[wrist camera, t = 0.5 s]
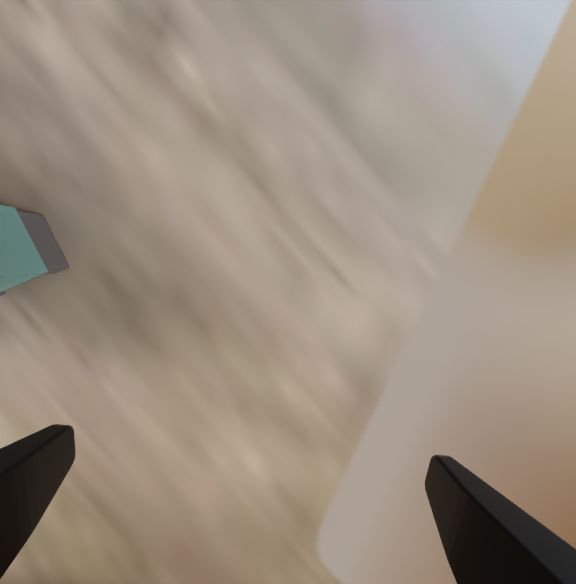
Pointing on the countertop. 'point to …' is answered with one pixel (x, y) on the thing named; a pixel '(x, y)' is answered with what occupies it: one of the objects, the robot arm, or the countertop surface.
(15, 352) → the countertop surface
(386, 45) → the countertop surface
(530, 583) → the robot arm
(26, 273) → the teal pillar on feet
